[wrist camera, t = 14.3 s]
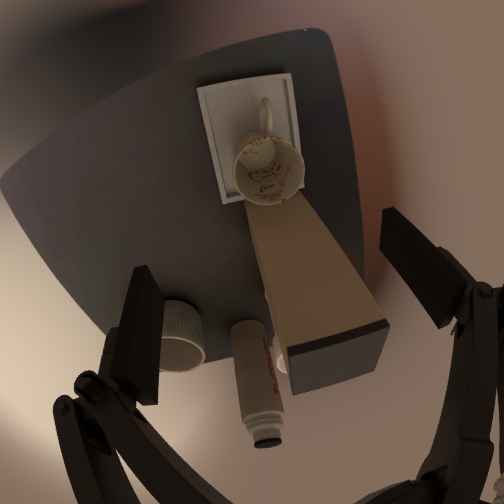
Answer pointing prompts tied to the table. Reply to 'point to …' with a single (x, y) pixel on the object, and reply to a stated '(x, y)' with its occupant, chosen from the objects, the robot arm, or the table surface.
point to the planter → (181, 338)
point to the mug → (267, 164)
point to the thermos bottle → (257, 383)
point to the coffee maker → (295, 248)
